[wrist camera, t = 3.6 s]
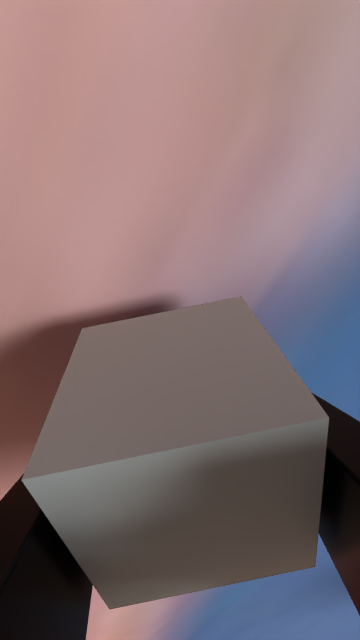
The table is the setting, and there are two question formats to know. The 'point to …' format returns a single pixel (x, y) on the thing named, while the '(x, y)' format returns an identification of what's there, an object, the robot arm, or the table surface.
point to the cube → (181, 455)
